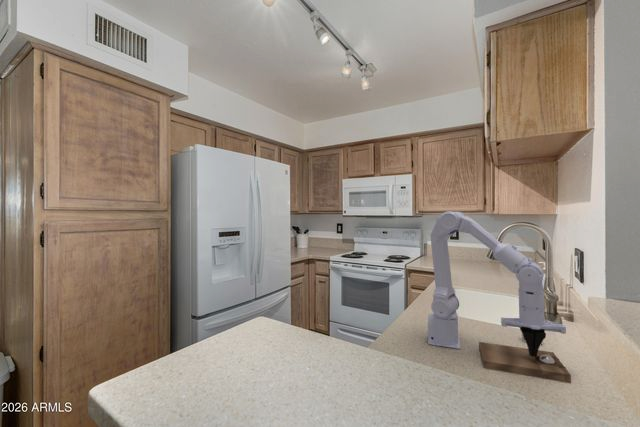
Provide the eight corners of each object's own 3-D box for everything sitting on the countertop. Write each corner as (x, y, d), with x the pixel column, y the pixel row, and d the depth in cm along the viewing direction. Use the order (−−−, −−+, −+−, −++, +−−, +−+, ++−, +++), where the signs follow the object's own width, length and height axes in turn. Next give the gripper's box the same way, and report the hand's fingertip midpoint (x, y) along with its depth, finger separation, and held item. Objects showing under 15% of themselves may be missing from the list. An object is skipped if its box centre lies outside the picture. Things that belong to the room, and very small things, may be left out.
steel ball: (549, 355, 76) (560, 367, 75) (545, 350, 79) (556, 361, 78) (537, 362, 77) (548, 373, 76) (534, 356, 80) (544, 367, 79)
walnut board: (483, 367, 78) (483, 360, 78) (479, 348, 90) (478, 341, 90) (572, 383, 70) (571, 375, 70) (554, 359, 82) (553, 352, 82)
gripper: (503, 307, 79) (504, 356, 78) (569, 313, 73) (571, 366, 72) (499, 300, 85) (500, 345, 85) (559, 305, 79) (561, 354, 79)
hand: (532, 354), depth 79 cm, fingers closed
